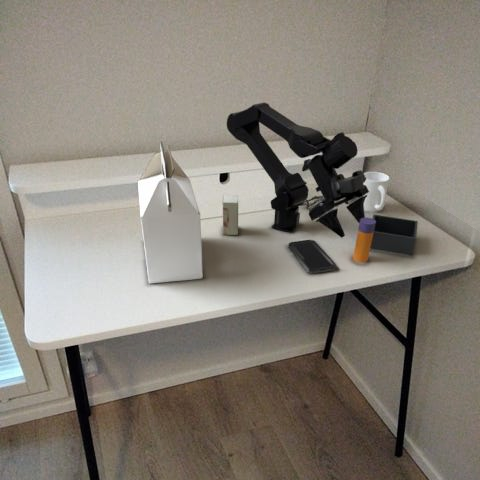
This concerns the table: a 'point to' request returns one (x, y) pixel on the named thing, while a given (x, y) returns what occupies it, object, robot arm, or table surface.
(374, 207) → the mug
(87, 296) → the table surface
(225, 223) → the cosmetics bottle
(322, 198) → the zombie figurine
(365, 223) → the glue stick
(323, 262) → the phone
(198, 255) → the gable box
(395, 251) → the organizer
